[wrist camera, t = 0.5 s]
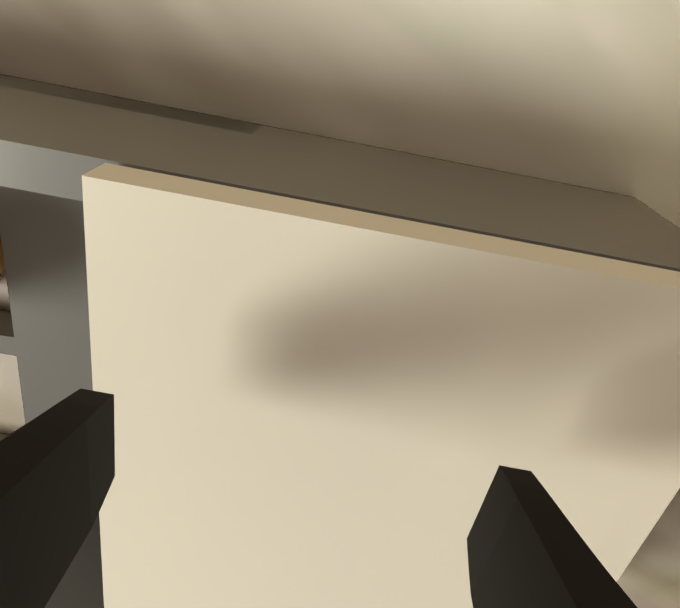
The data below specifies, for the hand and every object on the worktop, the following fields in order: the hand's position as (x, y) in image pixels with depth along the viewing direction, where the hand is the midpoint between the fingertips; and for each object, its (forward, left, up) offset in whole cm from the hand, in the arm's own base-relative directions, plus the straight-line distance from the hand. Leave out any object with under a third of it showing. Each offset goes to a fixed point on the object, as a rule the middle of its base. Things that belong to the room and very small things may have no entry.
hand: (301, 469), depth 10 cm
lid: (-5, -2, -4) cm, 7 cm away
